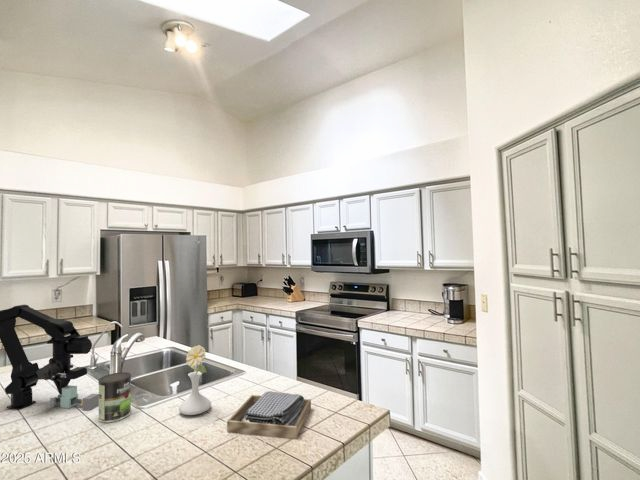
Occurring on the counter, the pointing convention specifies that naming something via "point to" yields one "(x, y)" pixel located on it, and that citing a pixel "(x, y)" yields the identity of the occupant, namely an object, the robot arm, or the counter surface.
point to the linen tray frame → (262, 428)
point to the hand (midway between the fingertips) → (61, 393)
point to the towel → (276, 409)
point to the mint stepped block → (68, 396)
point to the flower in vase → (195, 384)
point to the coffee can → (114, 397)
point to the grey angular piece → (78, 402)
